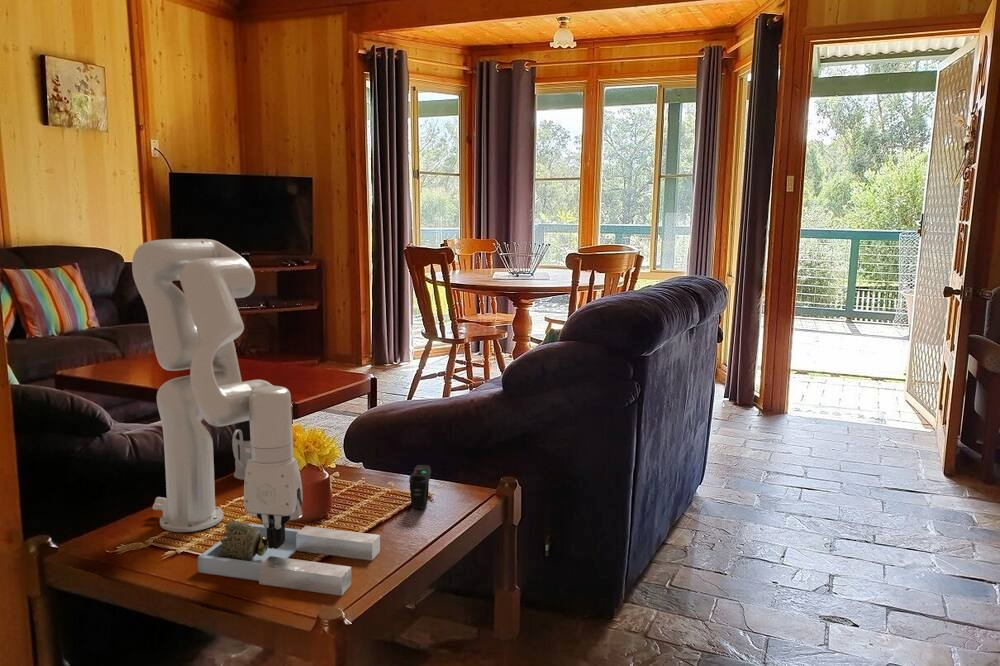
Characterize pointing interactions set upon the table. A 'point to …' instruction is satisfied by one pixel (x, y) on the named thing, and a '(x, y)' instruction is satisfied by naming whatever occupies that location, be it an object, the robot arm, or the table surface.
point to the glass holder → (241, 448)
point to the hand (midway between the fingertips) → (276, 545)
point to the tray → (245, 568)
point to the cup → (242, 542)
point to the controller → (420, 485)
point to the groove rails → (316, 573)
